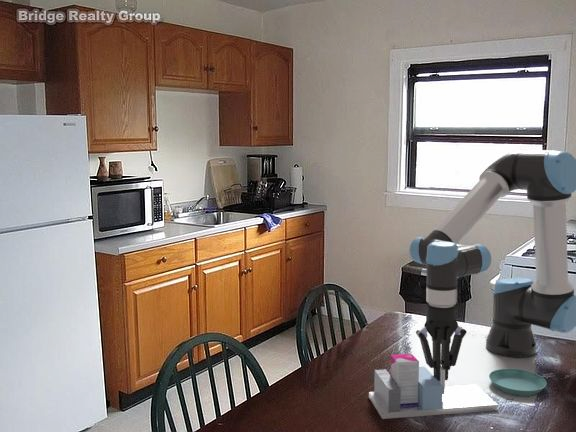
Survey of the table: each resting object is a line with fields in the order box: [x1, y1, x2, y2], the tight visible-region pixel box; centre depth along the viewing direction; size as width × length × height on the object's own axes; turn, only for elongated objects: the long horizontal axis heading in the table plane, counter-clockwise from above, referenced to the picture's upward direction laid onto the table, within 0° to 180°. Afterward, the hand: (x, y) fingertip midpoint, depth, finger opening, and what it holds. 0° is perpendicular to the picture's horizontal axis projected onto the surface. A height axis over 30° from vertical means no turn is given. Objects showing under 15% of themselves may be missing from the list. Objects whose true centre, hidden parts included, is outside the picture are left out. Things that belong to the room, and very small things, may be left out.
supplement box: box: [390, 353, 420, 406], centre depth 148 cm, size 6×6×12 cm
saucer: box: [488, 368, 548, 397], centre depth 160 cm, size 15×15×3 cm
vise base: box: [368, 368, 499, 420], centre depth 150 cm, size 30×12×8 cm, turn 98°
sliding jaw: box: [418, 366, 443, 410], centre depth 149 cm, size 5×12×6 cm, turn 8°
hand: (440, 391), depth 150 cm, fingers closed
